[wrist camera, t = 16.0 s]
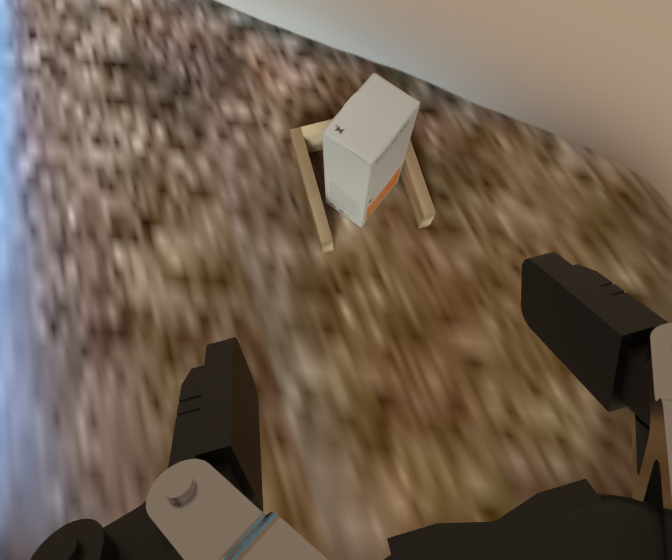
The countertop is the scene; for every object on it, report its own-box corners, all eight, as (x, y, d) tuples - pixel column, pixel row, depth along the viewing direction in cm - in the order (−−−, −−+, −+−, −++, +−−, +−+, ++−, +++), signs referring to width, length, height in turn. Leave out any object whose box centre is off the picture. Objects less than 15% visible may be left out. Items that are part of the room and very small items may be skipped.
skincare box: (362, 230, 41) (370, 166, 30) (324, 203, 42) (318, 131, 30) (400, 180, 42) (423, 100, 31) (363, 155, 43) (372, 68, 31)
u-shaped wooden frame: (322, 253, 41) (321, 243, 38) (293, 147, 43) (289, 129, 40) (429, 225, 41) (435, 213, 38) (393, 122, 44) (397, 103, 41)
